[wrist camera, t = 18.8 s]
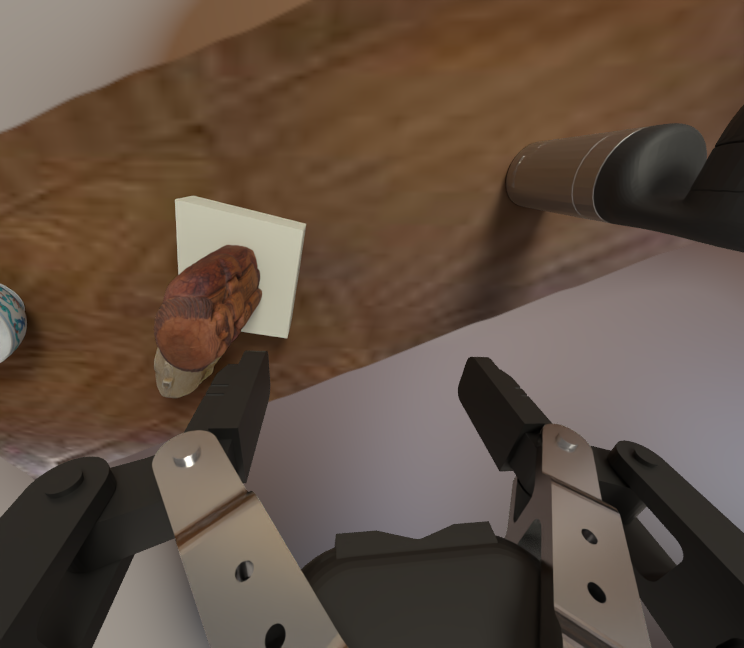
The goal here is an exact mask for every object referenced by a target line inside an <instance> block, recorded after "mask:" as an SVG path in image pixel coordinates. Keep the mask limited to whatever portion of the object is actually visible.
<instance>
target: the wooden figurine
mask: <svg viewBox="0 0 744 648" xmlns="http://www.w3.org/2000/svg"><path fill="white" fill-rule="evenodd" d="M257 267H258V266H257V260H256V257H255V254H254V251H253V250H251V249H249V248H248V247H245V246H239V245H225V246H223V247H221V248H219V249H218V250H216V251H214V252H211V253H210V254H208V255H207V256H205V257H203V258H201V259H200V260H198V261H197V262H196V263H193V264H192V265H191V266H189V267H187V268H186V269H185V270H183V271H182V272H181V273H180V274H179V275H178V276H177V277H176V278H175V279H173V280H172V281H171V282H170V284H169V285H168V287H167V289H166V291H165V296H164V300H163V303H162V305H161V307H160V308H159V311H158V312H157V314H156V318H155V326H154V334H155V338H156V339H155V340H156V343H157V347H158V348H159V350H160V353H161V355H162V356H163V358H164V359H165V361H166V362H168V363H169V364H170V365H172V366H173V367H175V368H177V369H179V370H181V371H186V372H189V371H190V372H200V371H203V370H204V369H205V368H207V367H208V365H209V364H211V363H212V362H213V361H214V360H215V359H216V358H219V357H220V356H222V355H223V354H224V353H225V351H226V349H227V348H228V347H229V346H230V345H231V342H233V341H234V340H235V339H236V338H237V337H238V335H239V334H240V332H241V329H242V328H243V327H244V326H245V325H246V323H247V322H248V320H249V318H250V317H251V315H252V314H253V312H254V310H255V309H256V307H257V306H258V304H259V303H260V301H261V298H262V290H261V289H259V282H260V271H259V269H258V268H257Z"/></svg>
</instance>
